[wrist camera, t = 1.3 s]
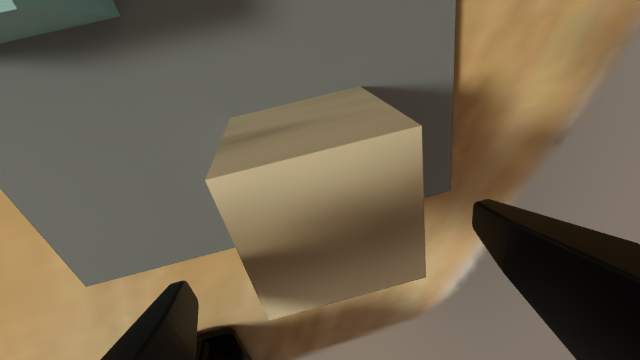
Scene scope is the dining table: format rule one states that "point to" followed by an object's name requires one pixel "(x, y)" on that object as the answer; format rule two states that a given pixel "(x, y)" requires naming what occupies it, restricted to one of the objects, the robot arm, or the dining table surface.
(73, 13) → the teal block
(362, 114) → the oak cube
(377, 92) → the charcoal mat
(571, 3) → the dining table surface
